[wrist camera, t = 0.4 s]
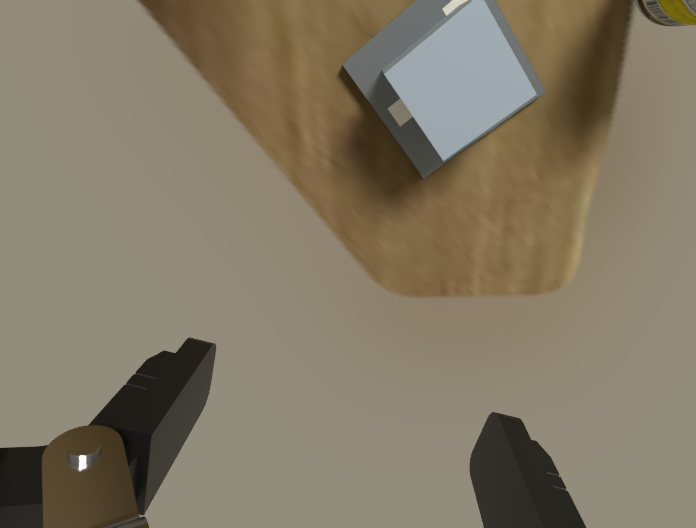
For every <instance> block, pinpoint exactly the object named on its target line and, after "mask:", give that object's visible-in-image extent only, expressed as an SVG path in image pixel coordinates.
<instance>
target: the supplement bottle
mask: <svg viewBox="0 0 696 528" xmlns="http://www.w3.org/2000/svg"><path fill="white" fill-rule="evenodd" d="M635 3H636V5H637V7H638V9H639V10H640V12H641V13H642V14H643V15H644V16H645V17H646V18H647V19H648V20H650V21H651V22H654V23H656V24H659V25H664V26H684V25H696V0H635Z"/></svg>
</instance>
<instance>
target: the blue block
mask: <svg viewBox="0 0 696 528" xmlns="http://www.w3.org/2000/svg"><path fill="white" fill-rule="evenodd" d="M382 71H383V73H384V75H385V76H386V78H387V79H388V81H389V82H390V84H391V85H392V87H393V88H394V90H395V91H396V93H397V94H398V95H399V97H400V98H401V100H402V101H403V103H404V104H405V106H406V107H407V109H408V110H409V111H410V113H411V114H412V116H413V117H414V119H415V120H416V122H417V123H418V125H419V126H420V128H421V129H422V130H423V132H424V133H425V135H426V136H427V138H428V139H429V141H430V142H431V144H432V145H433V147H434V148H435V149H436V151H437V152H438V154H439V155H440V157H441V158H442V160H443V161H444V160H446V159H447V158H449V157H450V156H451V155H453V154H454V153H456V152H457V151H458V150H460V149H461V148H463V147H464V146H465V145H467V144H468V143H470V142H471V141H472V140H474V139H475V138H477V137H478V136H479V135H481V134H482V133H484V132H485V131H486V130H488V129H489V128H491V127H492V126H493V125H495V124H496V123H498V122H499V121H500V120H502V119H503V118H505V117H506V116H507V115H509V114H510V113H512V112H513V111H514V110H516V109H517V108H519V107H520V106H521V105H523V104H524V103H526V102H527V101H528V100H530V99H531V98H533V97H534V96H535V95H537V94H536V92H535V90H534V88H533V87H532V85H531V83H530V81H529V79H528V78H527V76H526V74H525V72H524V71H523V69H522V67H521V65H520V63H519V62H518V60H517V58H516V56H515V54H514V53H513V51H512V49H511V47H510V46H509V44H508V42H507V40H506V38H505V37H504V35H503V33H502V31H501V29H500V28H499V26H498V24H497V22H496V21H495V19H494V17H493V15H492V13H491V12H490V10H489V8H488V6H487V4H486V3H485V1H484V0H468V1H466V2H464V3H462V4H461V5H459V6H458V7H456V8H455V9H454V10H453V11H452V12H450V13H449V14H448V15H447V16H446V17H444V18H443V19H442V20H441V21H440V22H438V23H437V24H436V25H435V26H434V27H432V28H431V29H430V30H429V31H428V32H427V33H425V34H424V35H423V36H422V37H421V38H419V39H418V40H417V41H416V42H415V43H413V44H412V45H411V46H410V47H409V48H407V49H406V50H405V51H404V52H403V53H401V54H400V55H399V56H398V57H397V58H396V59H394V60H393V61H392V62H391V63H390V64H388V65H387V66H386V67H385V68H384V69H382Z"/></svg>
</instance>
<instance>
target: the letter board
mask: <svg viewBox="0 0 696 528" xmlns="http://www.w3.org/2000/svg"><path fill="white" fill-rule="evenodd" d="M466 1H468V0H416V1H414V2H413V3H412V4H411V5H410V6H409V7H408V8H406V9H405V10H404V11H403V12H402V13H401V14H400V15H398V16H397V17H396V18H395V19H394V20H393V21H392V22H390V23H389V24H388V25H387V26H386V27H385V28H384V29H382V30H381V31H380V32H379V33H378V34H377V35H376V36H374V37H373V38H372V39H371V40H370V41H369V42H368V43H366V44H365V45H364V46H363V47H362V48H361V49H360V50H358V51H357V52H356V53H355V54H354V55H353V56H352V57H350V58H349V59H348V60H347V61H346V62H345V63H344V64H342V65H343V67H344V68H345V69H346V71H347V72H348V74H349V75H350V76H351V78H352V79H353V81H354V82H355V83H356V85H357V86H358V87H359V89H360V90H361V92H362V93H363V94H364V96H365V97H366V99H367V100H368V101H369V103H370V104H371V106H372V107H373V108H374V110H375V111H376V113H377V114H378V115H379V117H380V118H381V120H382V121H383V122H384V124H385V125H386V127H387V128H388V129H389V131H390V132H391V134H392V135H393V136H394V138H395V139H396V141H397V142H398V143H399V145H400V146H401V148H402V149H403V150H404V152H405V153H406V155H407V156H408V157H409V159H410V160H411V161H412V163H413V164H414V166H415V167H416V168H417V170H418V171H419V173H420V174H421V175H422V177H423V178H425V177H426V176H428V175H429V174H431V173H432V172H433V171H435V170H436V169H438V168H439V167H440V166H442V165H443V164H445V163H446V162H448V161H449V160H450V159H452V158H453V157H455V156H456V155H457V154H459V153H460V152H462V151H463V150H464V149H466V148H467V147H469V146H470V145H471V144H473V143H474V142H476V141H477V140H478V139H480V138H481V137H483V136H484V135H485V134H487V133H488V132H490V131H491V130H492V129H494V128H495V127H497V126H498V125H499V124H501V123H502V122H504V121H505V120H507V119H508V118H509V117H511V116H512V115H514V114H515V113H516V112H518V111H519V110H521V109H522V108H523V107H525V106H526V105H528V104H529V103H530V102H532V101H533V100H535V99H536V98H537V97H539V96H540V95H542V94H543V93H544V92H545V90H544V88H543V86H542V84H541V83H540V81H539V79H538V77H537V75H536V73H535V72H534V70H533V68H532V66H531V64H530V63H529V61H528V59H527V57H526V55H525V53H524V52H523V50H522V48H521V46H520V44H519V43H518V41H517V39H516V37H515V35H514V34H513V32H512V30H511V28H510V26H509V24H508V23H507V21H506V19H505V17H504V15H503V14H502V12H501V10H500V8H499V6H498V4H497V3H496V1H495V0H484V1H485V3H486V4H487V6H488V8H489V10H490V12H491V13H492V15H493V17H494V19H495V21H496V22H497V24H498V26H499V28H500V29H501V31H502V33H503V35H504V37H505V38H506V40H507V42H508V44H509V46H510V47H511V49H512V51H513V53H514V54H515V56H516V58H517V60H518V62H519V63H520V65H521V67H522V69H523V71H524V72H525V74H526V76H527V78H528V79H529V81H530V83H531V85H532V87H533V88H534V90H535V92H536V94H537V95H535V96H534V97H533V98H531V99H530V100H528V101H527V102H526V103H524V104H523V105H521V106H520V107H519V108H517V109H516V110H514V111H513V112H512V113H510V114H509V115H507V116H506V117H505V118H503V119H502V120H500V121H499V122H498V123H496V124H495V125H493V126H492V127H491V128H489V129H488V130H486V131H485V132H484V133H482V134H481V135H479V136H478V137H477V138H475V139H474V140H472V141H471V142H470V143H468V144H467V145H465V146H464V147H463V148H461V149H460V150H458V151H457V152H456V153H454V154H453V155H451V156H450V157H449V158H447V159H446V160H444V161H443V160H442V158H441V157H440V155H439V154H438V152H437V151H436V149H435V148H434V147H433V145H432V144H431V142H430V141H429V139H428V138H427V136H426V135H425V133H424V132H423V130H422V129H421V128H420V126H419V125H418V123H417V122H416V120H415V119H414V117H413V116H412V114H411V113H410V111H409V110H408V109H407V107H406V106H405V104H404V103H403V101H402V100H401V98H400V97H399V95H398V94H397V93H396V91H395V90H394V88H393V87H392V85H391V84H390V82H389V81H388V79H387V78H386V76H385V75H384V73H383V71H382V69H384V68H385V67H386V66H387V65H388V64H390V63H391V62H392V61H393V60H394V59H396V58H397V57H398V56H399V55H400V54H401V53H403V52H404V51H405V50H406V49H407V48H409V47H410V46H411V45H412V44H413V43H415V42H416V41H417V40H418V39H419V38H421V37H422V36H423V35H424V34H425V33H427V32H428V31H429V30H430V29H431V28H432V27H434V26H435V25H436V24H437V23H438V22H440V21H441V20H442V19H443V18H444V17H446V16H447V15H448V14H449V13H450V12H452V11H453V10H454V9H455V8H456V7H458V6H459V5H461V4H462V3H464V2H466Z"/></svg>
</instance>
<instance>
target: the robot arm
mask: <svg viewBox="0 0 696 528" xmlns="http://www.w3.org/2000/svg"><path fill="white" fill-rule="evenodd" d="M215 353H216V345H215V344H214V343H210V342H205V341H202V340H197V339H193V338H188V339H187V340H186V341H185V342H184V344H183V345H182V346H181V347H180V348H179V350H178V351H177V352H176V353H172V352H168V351H162V352H160V353H159V354H157V355H155V356H153V357H151V358H149V359H147V360H146V361H145V362H144V363H143V365H142V366H141V367H140V368H139V369H138V370H137V371H136V374H135V375H133V376H132V377H131V378H130V379H129V380H128V382H127V384H126V385H124V386H123V387H122V388H121V389H120V390H119V391H118V393H117V394H116V395H115V396H114V397H113V398H112V399H111V400H110V402H109V403H108V404H107V405H106V406H105V407H104V408H103V409H102V411H101V412H100V413H99V414H98V415H97V416H96V417H95V418H94V419H93V421H92V422H91V423H90V424H89V425H88V426H81V427H78V428H74V429H71V430H69V431H67V432H65V433H63V434H61V435H59V436H58V437H56V438H55V439H54V440H53V441H52V442H51V443H50V444H49V445H46V446H38V447H16V448H14V447H13V448H0V528H149V525H148V522H147V520H146V518H145V517H141V518H140V516H139V514H140V515H144V514H145V512H146V510H147V509H148V507H149V505H150V503H151V501H152V500H153V498H154V496H155V494H156V493H157V490H158V489H159V487H160V485H161V484H162V482H163V480H164V478H165V477H166V475H167V473H168V471H169V469H170V467H171V466H172V464H173V462H174V460H175V459H176V457H177V455H178V453H179V452H180V450H181V448H182V446H183V444H184V443H185V441H186V439H187V437H188V436H189V434H190V432H191V430H192V428H193V427H194V425H195V423H196V421H197V419H198V418H199V416H200V414H201V412H202V410H203V408H204V406H205V404H206V401H207V398H208V395H209V391H210V385H211V379H212V372H213V366H214V360H215ZM470 476H471V480H472V484H473V487H474V491H475V495H476V499H477V502H478V506H479V510H480V514H481V518H482V522H483V526H484V528H586V526H585V524H584V522H583V520H582V518H581V516H580V514H579V512H578V510H577V509H576V506H575V504H574V502H573V500H572V498H571V496H570V494H569V493H568V491H566V487H565V485H564V483H563V481H562V479H561V477H559V473H558V471H557V469H556V467H555V465H554V463H553V461H552V459H551V457H550V456H549V455H548V454H547V453H546V451H545V450H544V449H543V448H542V447H541V446H540V445H539V443H538V442H537V441H534V440H531V438H530V436H529V434H528V432H527V430H526V428H525V426H524V424H523V422H522V420H521V419H520V418H516V417H512V416H508V415H504V414H500V413H495V412H492V413H491V414H490V415H489V417H488V419H487V421H486V423H485V425H484V427H483V429H482V432H481V434H480V436H479V438H478V440H477V443H476V445H475V447H474V449H473V451H472V455H471V458H470Z"/></svg>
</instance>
